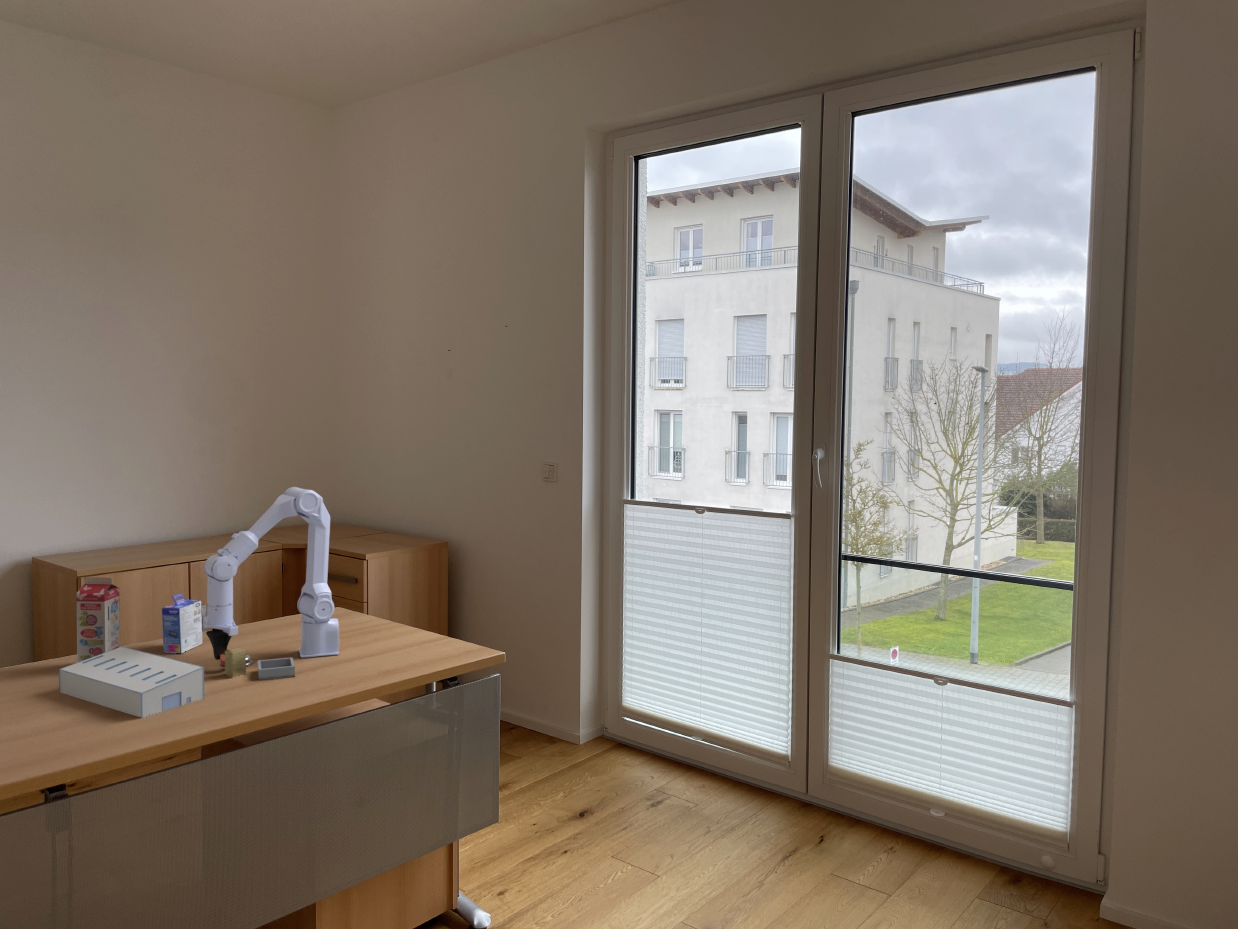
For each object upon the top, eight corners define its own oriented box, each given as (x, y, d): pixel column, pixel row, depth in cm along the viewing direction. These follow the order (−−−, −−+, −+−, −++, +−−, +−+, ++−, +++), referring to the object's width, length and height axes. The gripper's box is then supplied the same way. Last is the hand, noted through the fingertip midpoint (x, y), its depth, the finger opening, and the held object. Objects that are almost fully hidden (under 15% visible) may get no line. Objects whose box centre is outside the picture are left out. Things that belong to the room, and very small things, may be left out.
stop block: (238, 672, 211) (238, 647, 211) (246, 674, 209) (245, 650, 209) (224, 675, 208) (224, 650, 208) (232, 678, 206) (232, 653, 206)
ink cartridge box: (184, 643, 235) (183, 590, 234) (203, 644, 234) (203, 591, 233) (161, 653, 225) (160, 598, 224) (181, 654, 224) (180, 599, 223)
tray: (292, 667, 215) (292, 657, 215) (294, 676, 208) (294, 666, 208) (257, 670, 212) (257, 660, 212) (258, 680, 205) (258, 669, 205)
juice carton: (93, 661, 216) (91, 574, 215) (120, 662, 216) (119, 575, 215) (77, 669, 209) (76, 580, 208) (105, 670, 210) (104, 580, 208)
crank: (240, 658, 219) (240, 644, 219) (253, 659, 218) (253, 645, 218) (214, 668, 211) (214, 653, 210) (228, 670, 210) (228, 655, 209)
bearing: (252, 660, 220) (252, 658, 220) (253, 666, 216) (253, 664, 216) (230, 662, 218) (230, 660, 218) (230, 668, 214) (230, 666, 214)
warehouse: (59, 694, 193) (58, 661, 193) (122, 677, 206) (122, 646, 205) (141, 720, 179) (141, 684, 178) (204, 700, 192) (204, 666, 191)
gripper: (190, 601, 212) (190, 655, 213) (217, 612, 203) (217, 668, 204) (219, 597, 218) (219, 650, 219) (246, 607, 208) (246, 662, 209)
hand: (220, 658), depth 212 cm, fingers closed, pressing on crank
